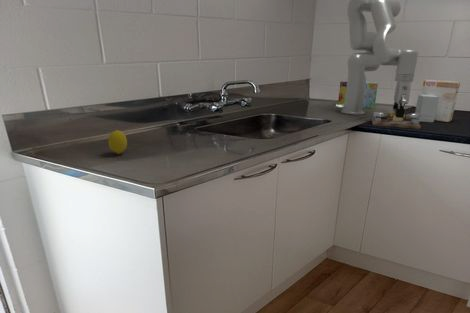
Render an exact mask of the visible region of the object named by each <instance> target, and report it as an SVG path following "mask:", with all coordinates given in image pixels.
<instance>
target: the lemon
mask: <svg viewBox="0 0 470 313" xmlns="http://www.w3.org/2000/svg"><path fill="white" fill-rule="evenodd" d="M107 143H108V146H109V149H110V150H111V151H112V152H113V153H116V154H117V155H120V154H122V153H123V152H124V151H125V150H126V149H127V146H128V139H127V136H126V134H125V133H124V132H123V131H121V130H118V129H114V131H112V132H111V133H110V134H109V136H108V142H107Z"/></svg>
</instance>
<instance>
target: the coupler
mask: <svg viewBox="0 0 470 313" xmlns="http://www.w3.org/2000/svg"><path fill="white" fill-rule="evenodd" d="M396 111H397V109H393V108H392V112H390V113H389V117H388V118H391V121H397V122H402V119H404V120H405V119H406V114H405V113H404V117H403V118H398V117H396Z"/></svg>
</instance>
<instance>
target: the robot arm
mask: <svg viewBox="0 0 470 313" xmlns="http://www.w3.org/2000/svg"><path fill="white" fill-rule="evenodd" d="M401 7H402V6H401V3H400V1H399V0H349V1H348V5H347V9H346V11H347V12H346V13H347V18H348V26H349V46H350V48H351V49H352V50H353V51H358V52H355V53H353V54H351V55H350V56H348V58H347V59H348V60H347V80H346V81H347V88H346V96H345V103H344V104H342V105H338V103H336V104H335V106H334V107H335V109H340V113H342V114H345V115H355V116H357V115H358V116H361V115H362V116H363V115H365V110H364V109H363V108H362V107H363V100H364V93H365V86H366V82H367V77H366V72H375V71H377V70H378V69H379V68H380V66H396V71H395V76H394V82H396V85H395V90H394V98H393V106H392V107H393V108H392V110H393V109H397V111H396V117H398V118H403V117H404V114H405V111H406V105H408V104H409V102H410V94H411V86H412V83H414V78H415V72H416V68H417V63H418V61H417V60H418V57H419V52H418V50H417V49H404V48H392V47H391V48H388V45H387V40H386V36H387V35H389V34H391V33H393V32H394V31H395V30H396V28H397V24H396V21H395V17H397V16H398V15H399V14H400V13H401ZM363 12H365V13H371V16H372V20H373V23H374V27H375V30H376V32H375V31H374V32H373V31H369V30H368V27H367V26H368V24H367V19H366V17H365V15H364V14H363ZM359 51H364V52H359Z"/></svg>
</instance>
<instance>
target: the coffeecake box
mask: <svg viewBox="0 0 470 313" xmlns="http://www.w3.org/2000/svg"><path fill="white" fill-rule="evenodd" d="M460 86H461V81H453V80H443V79H440V80H439V79H427V78H426V79H424V80H423V84H422V89H421V94H420V95H435V96H438V97H439V100H438V104H437V109H436V114H435V118H434V121H437V122H445V123H450V122H451V121H452V120H453V116H454V112H455V106H456V103H457V98H458V94H459V89H460Z"/></svg>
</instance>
